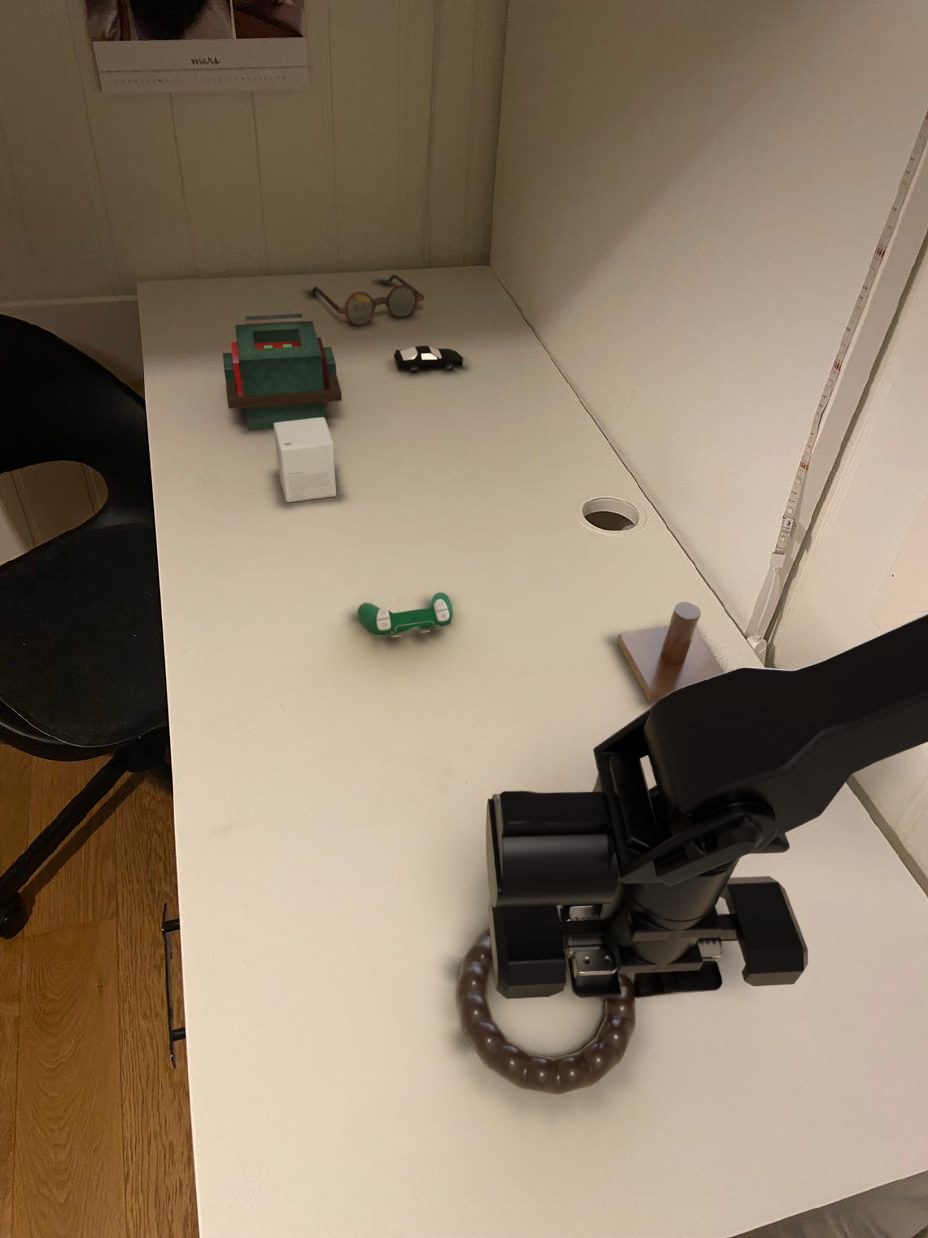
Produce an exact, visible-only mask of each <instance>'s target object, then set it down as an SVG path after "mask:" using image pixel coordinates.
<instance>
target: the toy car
mask: <svg viewBox="0 0 928 1238" xmlns="http://www.w3.org/2000/svg"><path fill="white" fill-rule="evenodd" d="M394 351H395V353H393V358H394V361H395V364H396V367H397V369H399V370H406V371H409V372H410V373H411V374H418V373H419V371H426V370H444V369H445V370H446V371H447V372H451V371H453V370H454V368H455V367H463V366H464V363H463V362H464V357H463V356H461V354H460V353H459V352H458V351H457V350H454V349H452V348H445V347H444V348H443V347H442V348H435V347H433V346H430V345H417V346H413V347H409V348H407V349H394Z"/></svg>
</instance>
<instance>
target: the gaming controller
mask: <svg viewBox="0 0 928 1238" xmlns="http://www.w3.org/2000/svg"><path fill="white" fill-rule="evenodd" d="M453 613H454V611H453V604H452V602H451V600H450V597H449V596H448V595H447V594H446V593H445V592H439V591H438V592H436V593H434V594H433V596H432V598H431V601H430V605H429V606H428V607H425V608H418V609H412V610H403V611H398V612H397V611H396V612H392V611H391V610H389V609H388V608H387V607H385V606H382V607H380V608H379V607H378V606H376V605H375V604H373V603H371V602H363V603H361V604H360V605H359V606H358V607H357V615H358V617H359V619H360V621H361V623H362V624H363V626H364V628H365V629H366V630H367V631H368V632H369V633H371V634H373V635H374V637H378V636H379V637H380V636H387V635H390V637H391V638H392V639H393V638H398V637H399V638H400V637H402V633H403V632H407V631H415V630H420V631H419V633H420V634H424V633H425V634H427V633H430V632H431V628H432V629H433V628H438V627H444V626H449V625H450V624H452V619H453V617H454V615H453Z"/></svg>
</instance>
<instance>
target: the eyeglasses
mask: <svg viewBox="0 0 928 1238" xmlns="http://www.w3.org/2000/svg"><path fill="white" fill-rule="evenodd" d="M394 279H395V280H397V281H398V282H399V283H401V284H398V285H395V286H394V287H393V288H391V290H390V291H389V292H388V294H387V296H379V297H376V298H373V297H372V296H371V295H370V294H368V293H367V292H366V291H355V292H353V293H352V294H350V295H349V296H348V297H347V299H346V300H345V303H344V306H343V307H340V306H339V305H338V304H337V303H335V301H333V300H332V299H331V298H330V297H329V296H328V295H327V294H326V293H324V291H322V290H321V289H320V288H319V287H317V286H313V288H312V289H311V294H312V295H313V296H314V295H316V292H317V294H319V295H320V296H321V297H322V298H323V299H324V300H325V301H326V302H327V303H328V304H329V305H330V306H331V307H332V308H333V309H334V310H335V312H337V313H338V314H339V315H345V317H346V319H347V320H348V321H349V323H351V325H352V324H353V325H355V326H363V325H366V324H367V323H369V322H370V321H371V319H372V318H373V316H374V314H375V311H376V308H377V307H378V306H380V305H385V306H386V309H387V310H388V312H389V313H390V314H391V315H392V316H394V317H396V318H406V317H408V316H411V314H413V312H414V311H415V310H416V309H417V306H418V303H419V302H421V301H424V299H425V295H424V294H423V293H421V292H419V290H418V289H416V288H415V287H414V286H412V285H411V284H409V282H407V281H406V280H404V279H403V278H401V277H400V276H399V275H397V274H392V275H391V276H390V277H389V278H388V279H382V278H381V279H379V283H380V284H390V283H391V282H393V280H394Z"/></svg>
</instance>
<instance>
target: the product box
mask: <svg viewBox="0 0 928 1238" xmlns="http://www.w3.org/2000/svg"><path fill="white" fill-rule="evenodd" d="M273 430H274V439H275V448H276V455H277V465H278V474H279V480H280V485H281V490H282V491H283V496H284V499H285V502H286V503H295V502H302V501H309V500H316V499H325V498H333V497H336V496H337V485H336V484H337V483H336V471H335V470H336V469H335V452H334V451H335V450H334V440H333V438H332V435H331V431H330V428H329V426H328V422H327V419H326V420H325V418H324V417H321V418H310V419H302V420H294V421H284V422H277V423H274V429H273Z"/></svg>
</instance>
